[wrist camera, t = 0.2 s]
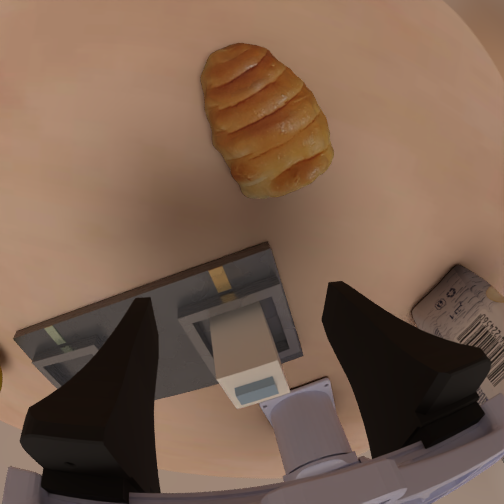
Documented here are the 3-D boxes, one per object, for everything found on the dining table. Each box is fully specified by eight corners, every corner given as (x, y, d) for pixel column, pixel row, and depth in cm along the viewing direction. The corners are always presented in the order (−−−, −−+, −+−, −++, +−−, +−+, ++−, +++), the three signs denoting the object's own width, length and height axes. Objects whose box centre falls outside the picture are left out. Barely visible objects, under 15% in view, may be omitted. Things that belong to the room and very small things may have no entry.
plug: (272, 335, 26) (293, 400, 20) (226, 350, 26) (238, 416, 20) (258, 300, 24) (280, 368, 18) (209, 317, 24) (217, 388, 18)
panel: (300, 348, 29) (307, 365, 27) (87, 406, 29) (84, 422, 27) (267, 241, 23) (274, 257, 21) (16, 331, 23) (8, 347, 21)
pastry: (171, 77, 17) (167, 75, 13) (270, 27, 16) (288, 15, 13) (247, 199, 21) (258, 222, 18) (333, 151, 21) (360, 165, 17)
